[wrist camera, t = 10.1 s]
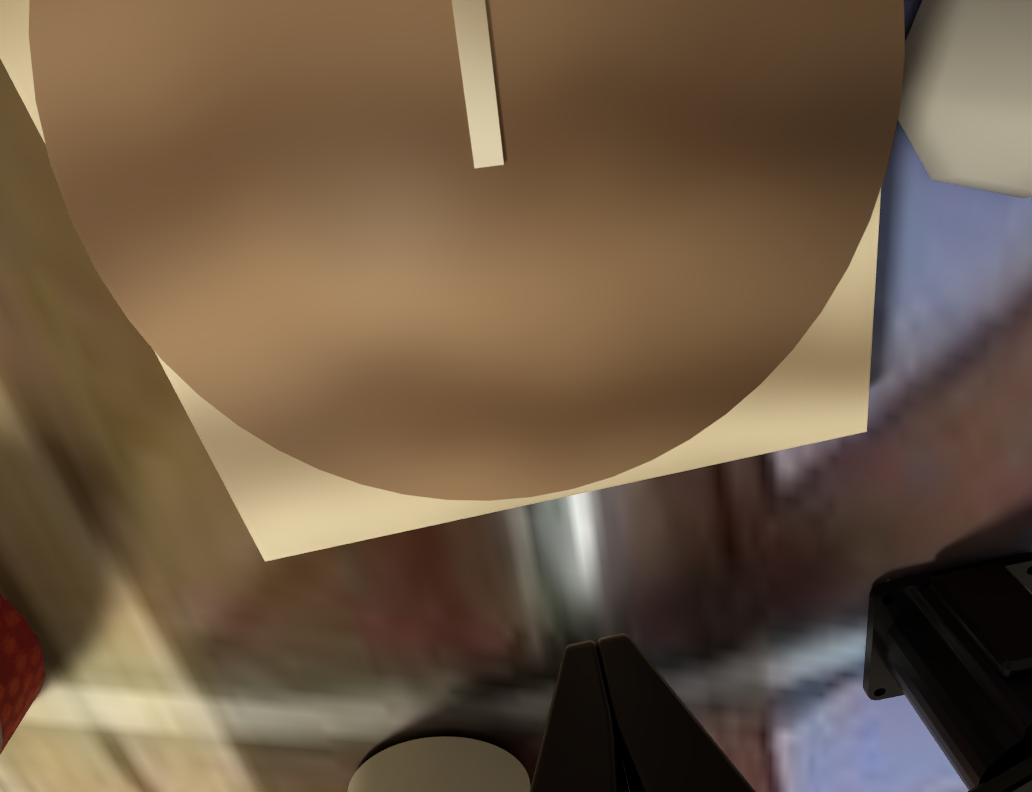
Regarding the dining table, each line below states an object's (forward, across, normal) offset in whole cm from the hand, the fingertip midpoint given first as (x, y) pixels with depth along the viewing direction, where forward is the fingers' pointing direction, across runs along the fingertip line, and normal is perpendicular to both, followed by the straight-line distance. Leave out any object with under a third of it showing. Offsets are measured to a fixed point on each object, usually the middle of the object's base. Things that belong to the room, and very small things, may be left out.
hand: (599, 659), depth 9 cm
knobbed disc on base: (+10, 0, -5) cm, 11 cm away
